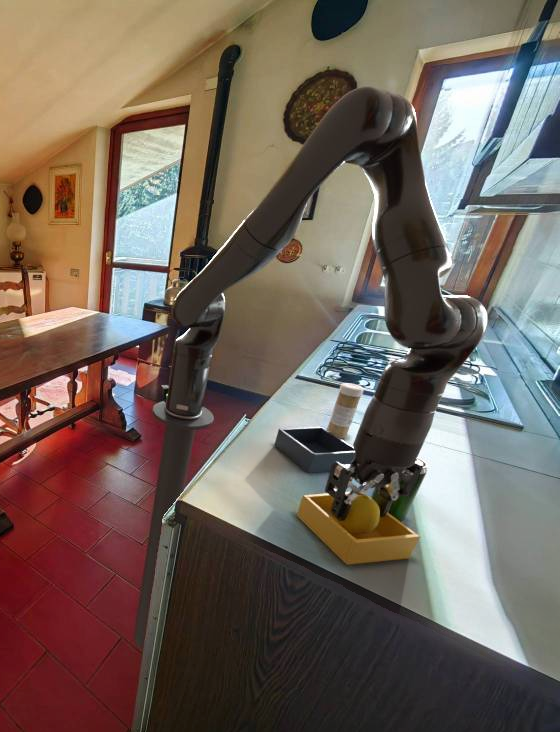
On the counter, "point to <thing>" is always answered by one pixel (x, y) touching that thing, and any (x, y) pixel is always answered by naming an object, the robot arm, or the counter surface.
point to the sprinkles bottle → (344, 409)
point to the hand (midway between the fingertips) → (357, 515)
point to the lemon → (362, 515)
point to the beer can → (404, 503)
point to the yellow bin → (357, 548)
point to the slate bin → (314, 448)
